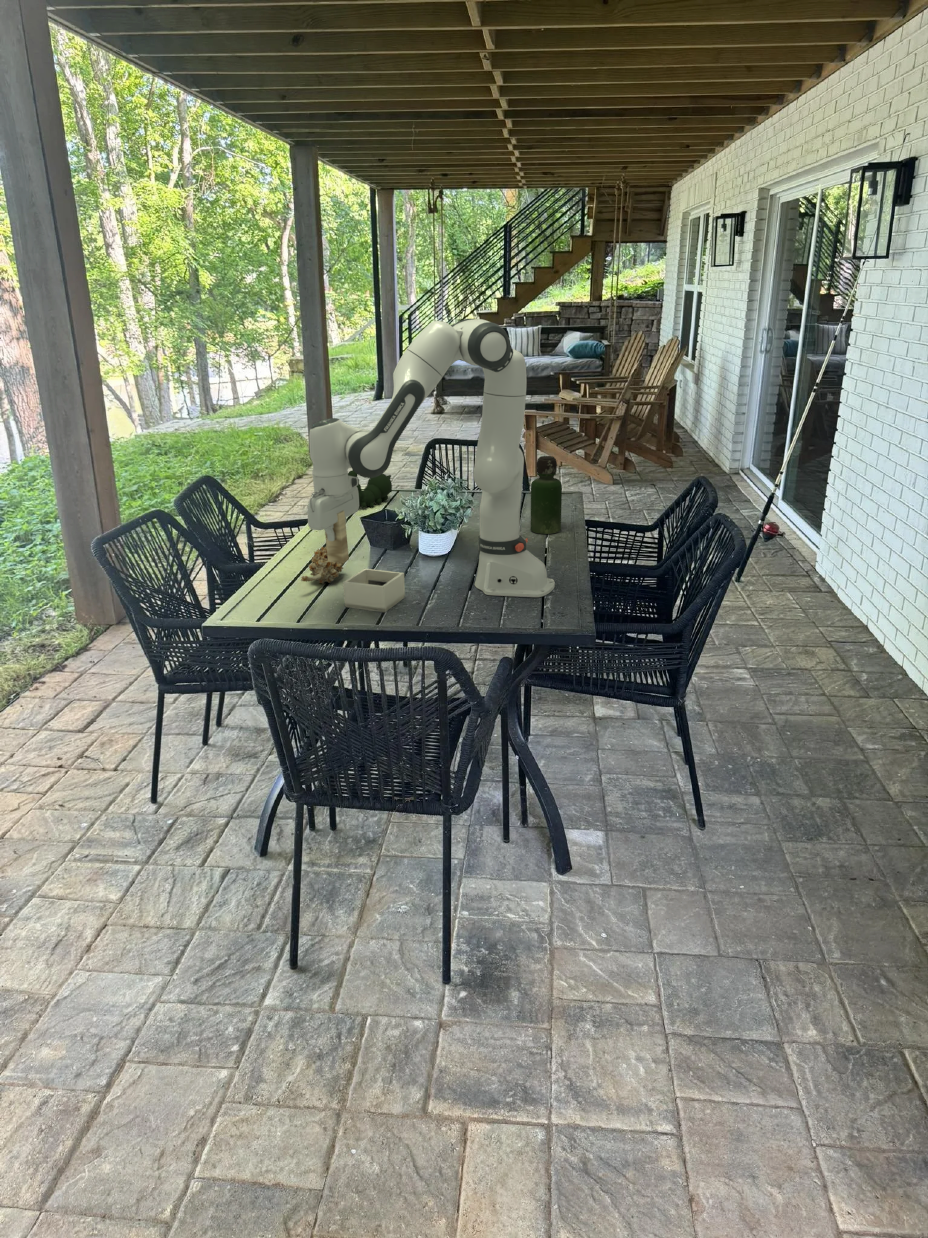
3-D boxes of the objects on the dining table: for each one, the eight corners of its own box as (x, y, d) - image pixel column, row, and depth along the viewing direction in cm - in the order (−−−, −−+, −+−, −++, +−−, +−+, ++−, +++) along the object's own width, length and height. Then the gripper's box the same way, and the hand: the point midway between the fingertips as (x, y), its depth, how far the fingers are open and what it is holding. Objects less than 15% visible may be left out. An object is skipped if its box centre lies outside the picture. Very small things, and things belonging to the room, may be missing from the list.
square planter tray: (405, 597, 235) (404, 572, 233) (385, 612, 225) (383, 587, 223) (366, 592, 240) (364, 568, 237) (344, 607, 229) (343, 582, 227)
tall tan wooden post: (349, 559, 225) (344, 510, 220) (343, 562, 222) (338, 513, 217) (333, 558, 226) (329, 509, 221) (328, 561, 224) (323, 512, 219)
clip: (390, 596, 233) (389, 581, 232) (380, 603, 228) (380, 588, 227) (369, 593, 236) (368, 579, 234) (359, 600, 231) (358, 586, 229)
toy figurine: (364, 517, 321) (402, 496, 340) (358, 467, 313) (397, 449, 332) (344, 514, 326) (383, 494, 345) (338, 465, 318) (378, 447, 336)
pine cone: (321, 571, 258) (318, 539, 254) (352, 573, 256) (349, 540, 252) (292, 596, 238) (288, 562, 234) (324, 598, 236) (321, 564, 232)
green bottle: (524, 530, 294) (524, 457, 285) (545, 524, 301) (546, 453, 291) (545, 536, 287) (547, 461, 278) (567, 530, 293) (569, 457, 284)
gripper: (320, 495, 207) (326, 550, 212) (361, 476, 224) (365, 528, 229) (298, 493, 209) (304, 548, 214) (340, 475, 227) (345, 526, 232)
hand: (336, 537), depth 222 cm, fingers closed on tall tan wooden post, 3 cm apart
